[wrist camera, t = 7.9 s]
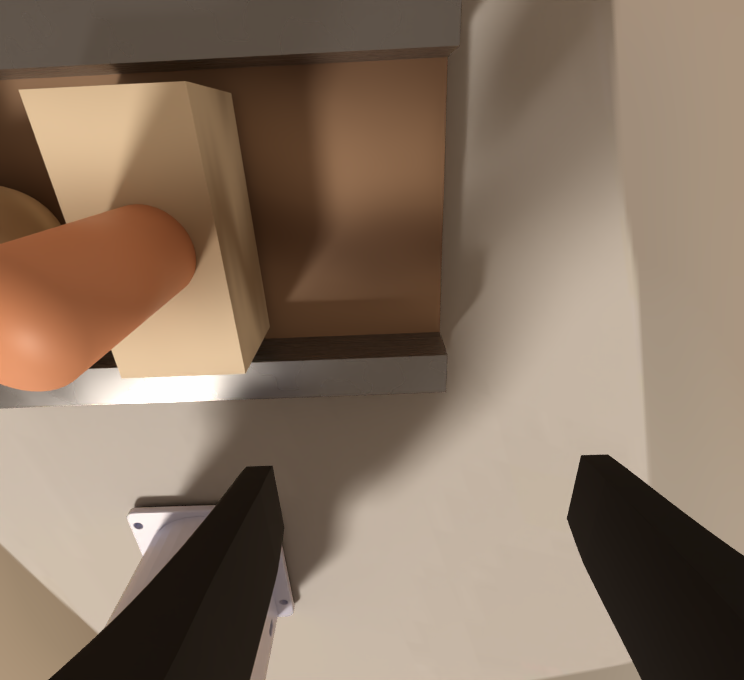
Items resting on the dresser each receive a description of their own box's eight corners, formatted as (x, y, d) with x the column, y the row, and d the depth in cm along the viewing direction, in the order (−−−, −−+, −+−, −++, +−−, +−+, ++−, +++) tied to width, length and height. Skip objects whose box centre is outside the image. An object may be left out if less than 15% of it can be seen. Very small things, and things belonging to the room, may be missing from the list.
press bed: (434, 366, 19) (454, 440, 15) (4, 382, 20) (-109, 460, 15) (444, -25, 13) (484, -111, 9) (-184, 9, 14) (-475, -54, 9)
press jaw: (269, 326, 17) (182, 495, 9) (169, 330, 17) (-2, 500, 9) (231, 93, 13) (33, 40, 5) (104, 99, 13) (-268, 56, 6)
